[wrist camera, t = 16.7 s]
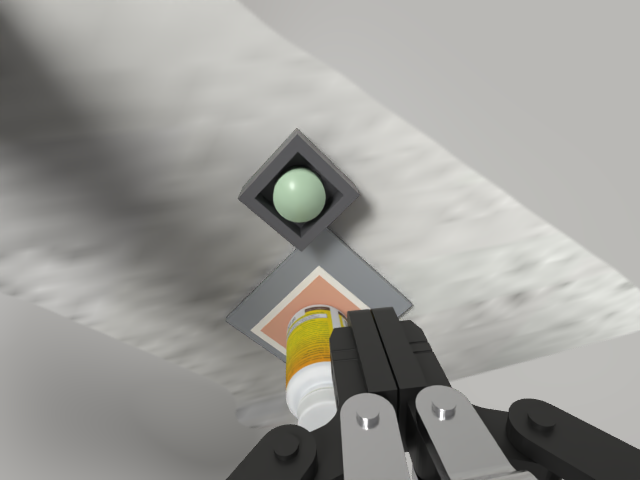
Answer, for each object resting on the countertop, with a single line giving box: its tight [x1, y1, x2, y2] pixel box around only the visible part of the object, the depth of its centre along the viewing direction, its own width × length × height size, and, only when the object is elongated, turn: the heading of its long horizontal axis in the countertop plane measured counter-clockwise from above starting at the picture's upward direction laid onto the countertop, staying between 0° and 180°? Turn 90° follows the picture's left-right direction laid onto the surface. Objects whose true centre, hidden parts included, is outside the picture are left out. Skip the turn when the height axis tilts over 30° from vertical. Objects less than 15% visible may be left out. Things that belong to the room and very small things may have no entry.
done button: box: [273, 166, 326, 222], centre depth 27 cm, size 4×4×2 cm
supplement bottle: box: [286, 304, 348, 432], centre depth 29 cm, size 6×6×10 cm
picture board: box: [226, 228, 412, 363], centre depth 34 cm, size 11×12×1 cm
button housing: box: [238, 128, 360, 252], centre depth 28 cm, size 6×6×3 cm
